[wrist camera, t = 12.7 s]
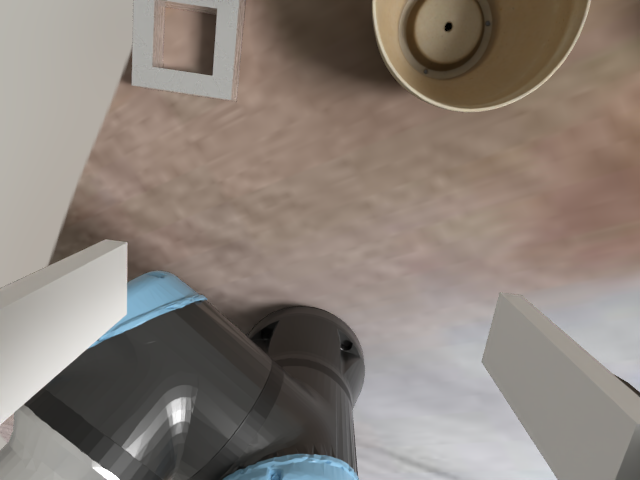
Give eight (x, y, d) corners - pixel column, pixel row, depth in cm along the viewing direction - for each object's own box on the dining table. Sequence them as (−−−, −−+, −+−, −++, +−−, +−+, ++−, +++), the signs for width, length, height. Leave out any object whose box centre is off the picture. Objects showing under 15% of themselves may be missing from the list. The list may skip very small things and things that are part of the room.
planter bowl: (341, 87, 42) (342, 72, 32) (397, -87, 38) (421, -170, 28) (484, 137, 43) (533, 139, 32) (555, -28, 39) (637, -87, 28)
